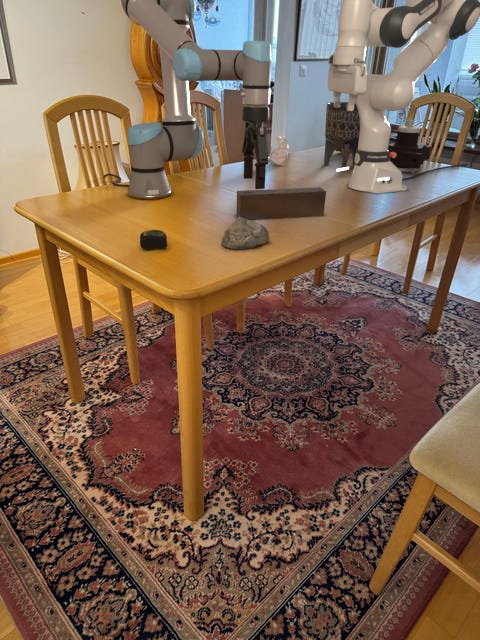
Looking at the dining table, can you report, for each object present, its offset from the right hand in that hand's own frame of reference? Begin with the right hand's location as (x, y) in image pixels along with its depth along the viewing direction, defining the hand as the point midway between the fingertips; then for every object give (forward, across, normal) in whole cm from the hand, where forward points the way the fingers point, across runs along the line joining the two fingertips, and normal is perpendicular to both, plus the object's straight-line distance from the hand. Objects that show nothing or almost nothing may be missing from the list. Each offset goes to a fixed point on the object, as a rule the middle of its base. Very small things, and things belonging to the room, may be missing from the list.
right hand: (343, 109), depth 143 cm
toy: (+30, +88, -46) cm, 104 cm away
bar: (+30, -11, +22) cm, 39 cm away
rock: (+30, -34, +39) cm, 59 cm away
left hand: (+19, -11, +32) cm, 39 cm away
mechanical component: (+30, +47, -58) cm, 80 cm away
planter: (+30, +56, -29) cm, 69 cm away
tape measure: (+30, -32, +63) cm, 77 cm away
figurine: (+30, +64, -1) cm, 71 cm away
